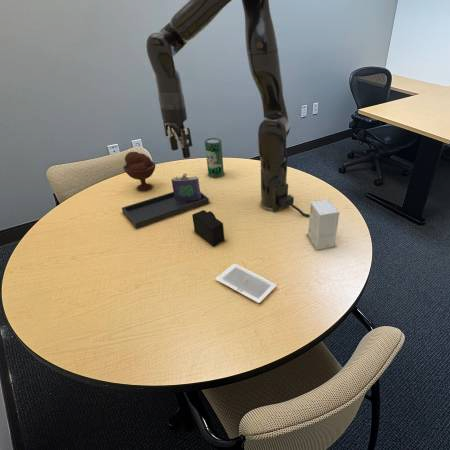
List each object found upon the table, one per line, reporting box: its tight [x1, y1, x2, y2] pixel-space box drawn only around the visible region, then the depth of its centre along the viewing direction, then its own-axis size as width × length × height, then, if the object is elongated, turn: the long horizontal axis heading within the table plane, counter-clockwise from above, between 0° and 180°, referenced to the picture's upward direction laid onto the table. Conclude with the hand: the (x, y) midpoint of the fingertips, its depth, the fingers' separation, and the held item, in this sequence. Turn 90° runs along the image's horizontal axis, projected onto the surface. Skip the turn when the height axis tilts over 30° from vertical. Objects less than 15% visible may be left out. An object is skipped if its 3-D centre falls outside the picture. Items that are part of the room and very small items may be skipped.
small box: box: [307, 199, 340, 251], centre depth 105 cm, size 8×6×13 cm
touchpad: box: [214, 262, 278, 304], centre depth 90 cm, size 8×15×2 cm, turn 58°
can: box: [204, 137, 225, 179], centre depth 139 cm, size 6×6×15 cm
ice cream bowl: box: [122, 151, 156, 192], centre depth 126 cm, size 11×11×15 cm
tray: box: [121, 191, 210, 230], centre depth 119 cm, size 12×26×2 cm, turn 133°
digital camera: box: [191, 209, 225, 247], centre depth 105 cm, size 10×5×7 cm, turn 47°
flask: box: [171, 173, 201, 203], centre depth 120 cm, size 9×3×11 cm, turn 105°
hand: (180, 153), depth 114 cm, fingers open, 8 cm apart
